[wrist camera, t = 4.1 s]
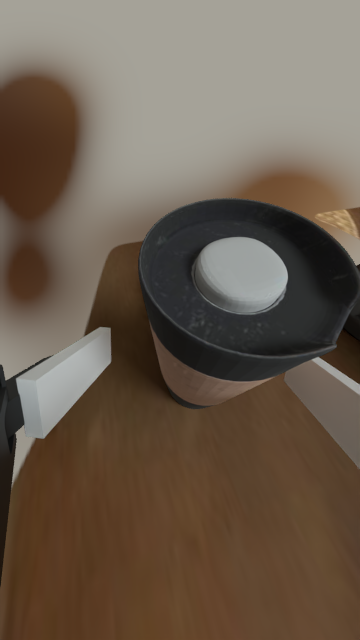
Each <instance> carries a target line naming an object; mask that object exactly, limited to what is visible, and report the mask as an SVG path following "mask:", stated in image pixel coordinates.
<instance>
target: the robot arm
mask: <svg viewBox="0 0 360 640" xmlns="http://www.w3.org/2000/svg"><path fill="white" fill-rule="evenodd" d="M356 267H357V269H358V271H359V273H360V264H359V265H357V266H356ZM343 328H344V329H345V330H347V331H348V332H349V333H350V334H351V335H353V336H354V337H355V338H357V339H358V340H360V298H359V300H358V301H357V302H356V304H355V305H354V307H353V308H352V310H351V312H350V314H349V316H348V318H347V320H346V322H345V324H344V326H343ZM110 363H111V328H106V327H99V328H98V329H96V330H94V331H93V332H91V333H90V334H88V335H86V336H85V337H83V338H81V339H80V340H78V341H76V342H75V343H73V344H72V345H70V346H68V347H67V348H65V349H63V350H62V351H60V352H58V353H57V354H55V355H52V356H50V357H47V358H44V359H42V360H40V361H39V362H37V363H35V365H32V366H30V367H29V368H28V369H25V370H24V371H22V372H20V373H19V374H17V375H15V376H13V377H12V378H10V379H8V380H6V381H5V377H4V371H3V367H2V365H0V585H1V576H2V567H3V558H4V549H5V540H6V531H7V522H8V513H9V504H10V494H11V485H12V476H13V466H14V457H15V449H16V440H17V439H16V434H15V433H16V432H17V431H18V430H19V429H20V428H21V427H22V426H23V425H24V428H25V434H26V436H28V437H35V438H45V436H46V435H47V434H48V433H49V432H50V431H51V430H52V428H53V427H54V426H55V425H56V424H57V423H58V422H59V421H60V419H61V418H62V417H63V416H64V415H65V414H66V413H67V411H68V410H69V409H70V408H71V407H72V406H73V405H74V404H75V402H76V401H77V400H78V399H79V398H80V397H81V396H82V394H83V393H84V392H85V391H86V390H87V389H88V388H89V386H90V385H91V384H92V383H93V382H94V381H95V380H96V379H97V377H98V376H99V375H100V374H101V373H102V372H103V371H104V369H105V368H106V367H107V366H108V365H109V364H110ZM284 381H285V382H286V384H287V385H288V386H289V387H290V388H291V389H292V391H293V392H294V393H295V394H296V395H297V397H298V398H299V399H300V400H301V401H302V402H303V404H304V405H305V406H306V407H307V408H308V409H309V411H310V412H311V413H312V414H313V415H314V416H315V418H316V419H317V420H318V421H319V422H320V423H321V425H322V426H323V427H324V428H325V429H326V430H327V432H328V433H329V434H330V435H331V436H332V437H333V439H334V440H335V441H336V442H337V443H338V444H339V446H340V447H341V448H342V449H343V450H344V451H345V453H346V454H347V455H348V456H349V457H350V458H351V460H352V461H353V462H354V463H355V464H356V465H357V467H358V468H359V469H360V385H359V384H358V383H356V382H355V381H353V380H352V379H350V378H349V377H347V376H346V375H344V374H343V373H341V372H340V371H338V370H337V369H335V368H334V367H332V366H331V365H329V364H328V363H326V362H325V361H323V360H322V359H320V358H319V357H317V358H314V359H312V360H309V361H307V362H304V363H302V364H300V365H298V366H296V367H294V368H292V369H290V370H288V371H286V374H285V378H284Z"/></svg>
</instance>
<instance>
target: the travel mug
mask: <svg viewBox="0 0 360 640" xmlns="http://www.w3.org/2000/svg"><path fill="white" fill-rule="evenodd" d="M138 270H139V280H140V285H141V290H142V294H143V298H144V302H145V306H146V310H147V314H148V318H149V323H150V327H151V331H152V335H153V339H154V343H155V348H156V352H157V356H158V360H159V364H160V368H161V372H162V375H163V378H164V380H165V383H166V385H167V387H168V390H169V392H170V393H171V395H172V397H173V398H174V399H175V400H176V401H177V402H178V403H179V404H181V405H182V406H185V407H187V408H191V409H201V408H206V407H209V406H213V405H217V404H220V403H223V402H225V401H227V400H229V399H231V398H233V397H235V396H237V395H239V394H241V393H243V392H245V391H247V390H249V389H251V388H253V387H255V386H257V385H259V384H261V383H263V382H265V381H268V380H270V379H272V378H274V377H276V376H278V375H280V374H282V373H284V372H286V371H288V370H290V369H292V368H294V367H296V366H298V365H300V364H302V363H304V362H307V361H309V360H312V359H314V358H317V357H319V356H322V355H324V354H326V353H328V352H330V351H332V350H333V349H335V348H336V347H337V345H336V341H337V338H338V336H339V334H340V332H341V330H342V329H343V326H344V324H345V322H346V320H347V318H348V316H349V314H350V312H351V310H352V308H353V307H354V305H355V304H356V302H357V301H358V300H359V298H360V273H359V271H358V269H357V267H356V265H355V263H354V261H353V260H352V259H351V257H350V255H349V254H348V253H347V251H346V250H345V249H344V248H343V247H342V246H341V244H340V243H339V242H338V241H336V240H335V239H334V238H333V237H332V236H331V235H330V234H329V233H327V232H326V231H325V230H324V229H323V228H321V227H319V226H318V225H317V224H315V223H314V222H312V221H310V220H308V219H307V218H305V217H303V216H301V215H299V214H296V213H294V212H292V211H290V210H287V209H284V208H282V207H279V206H275V205H272V204H269V203H264V202H260V201H254V200H248V199H236V198H233V199H232V198H223V199H211V200H204V201H199V202H195V203H191V204H188V205H185V206H183V207H180V208H178V209H176V210H174V211H172V212H170V213H168V214H167V215H165V216H164V217H163V218H161V219H160V220H159V221H158V222H157V223H156V224H154V226H153V227H152V228H151V229H150V231H149V232H148V233H147V235H146V237H145V239H144V241H143V243H142V246H141V249H140V253H139V259H138Z"/></svg>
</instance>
